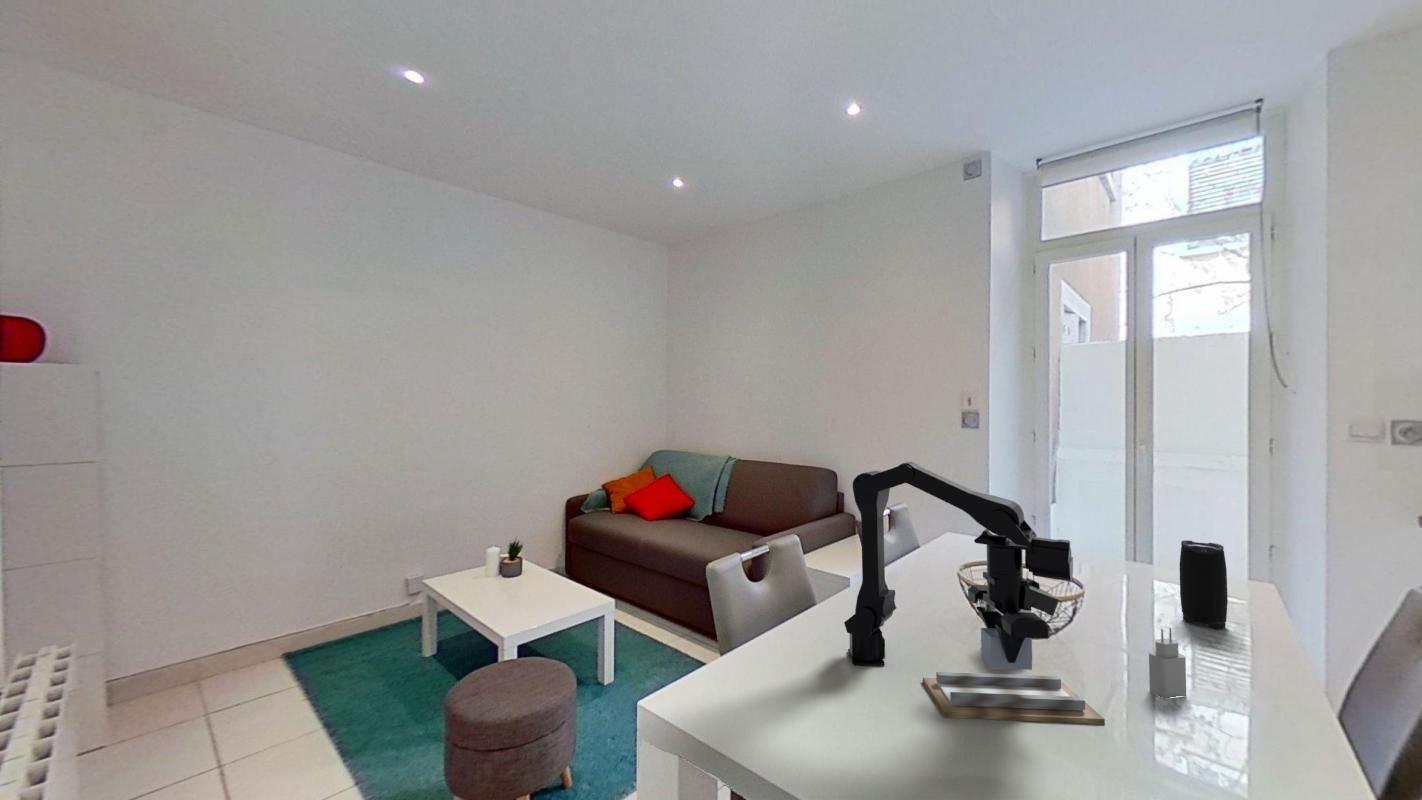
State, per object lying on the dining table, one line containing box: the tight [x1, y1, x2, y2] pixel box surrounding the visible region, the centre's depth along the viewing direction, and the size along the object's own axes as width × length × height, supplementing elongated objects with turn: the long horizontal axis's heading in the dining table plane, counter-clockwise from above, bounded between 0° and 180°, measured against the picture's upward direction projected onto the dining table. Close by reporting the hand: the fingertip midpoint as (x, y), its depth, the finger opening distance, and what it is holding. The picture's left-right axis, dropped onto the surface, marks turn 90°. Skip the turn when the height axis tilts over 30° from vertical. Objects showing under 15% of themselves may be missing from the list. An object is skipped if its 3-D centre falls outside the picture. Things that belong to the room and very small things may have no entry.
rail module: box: [980, 627, 1033, 671], centre depth 96 cm, size 7×4×6 cm, turn 85°
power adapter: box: [1148, 627, 1187, 699], centre depth 98 cm, size 3×5×12 cm, turn 101°
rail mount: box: [922, 671, 1106, 725], centre depth 96 cm, size 26×12×3 cm, turn 85°
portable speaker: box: [1179, 539, 1229, 630], centre depth 130 cm, size 9×9×20 cm
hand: (1005, 656), depth 96 cm, fingers closed on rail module, 4 cm apart
